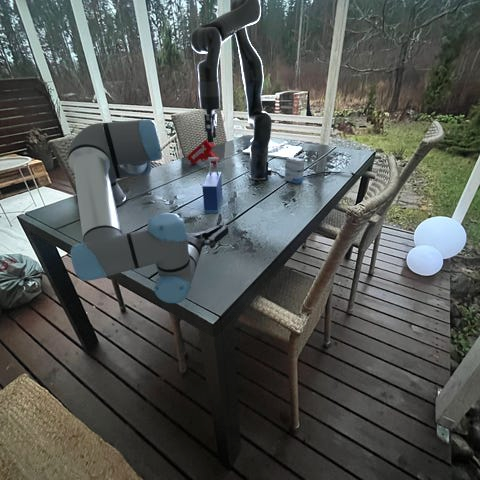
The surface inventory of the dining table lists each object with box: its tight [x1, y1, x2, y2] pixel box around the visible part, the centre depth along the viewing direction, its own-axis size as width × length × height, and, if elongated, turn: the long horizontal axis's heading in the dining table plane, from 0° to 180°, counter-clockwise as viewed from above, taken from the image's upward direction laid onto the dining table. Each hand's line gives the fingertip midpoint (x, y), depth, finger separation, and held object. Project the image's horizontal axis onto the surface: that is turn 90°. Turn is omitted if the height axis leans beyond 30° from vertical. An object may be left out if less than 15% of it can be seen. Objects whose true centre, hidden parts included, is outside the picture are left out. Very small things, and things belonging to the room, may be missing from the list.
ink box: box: [284, 156, 306, 185], centre depth 140 cm, size 8×5×12 cm, turn 47°
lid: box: [201, 156, 222, 190], centre depth 112 cm, size 17×6×9 cm, turn 177°
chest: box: [202, 176, 223, 214], centre depth 117 cm, size 16×6×11 cm, turn 177°
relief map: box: [242, 138, 304, 160], centre depth 192 cm, size 27×35×5 cm
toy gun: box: [186, 139, 221, 167], centre depth 167 cm, size 18×4×15 cm
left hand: (200, 217), depth 90 cm, fingers open, 13 cm apart
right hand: (212, 139), depth 110 cm, fingers open, 8 cm apart
